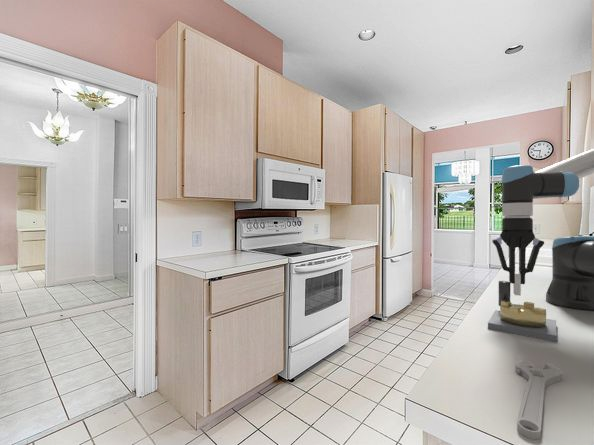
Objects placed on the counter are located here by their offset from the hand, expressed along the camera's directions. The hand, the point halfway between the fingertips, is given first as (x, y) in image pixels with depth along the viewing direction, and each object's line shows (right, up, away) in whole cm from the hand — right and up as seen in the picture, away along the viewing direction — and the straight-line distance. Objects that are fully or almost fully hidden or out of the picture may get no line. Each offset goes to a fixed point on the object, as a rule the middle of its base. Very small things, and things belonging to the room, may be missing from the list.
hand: (517, 294), depth 91 cm
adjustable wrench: (-28, -8, -40) cm, 50 cm away
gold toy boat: (-5, -5, -6) cm, 9 cm away
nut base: (-5, -6, -8) cm, 11 cm away
